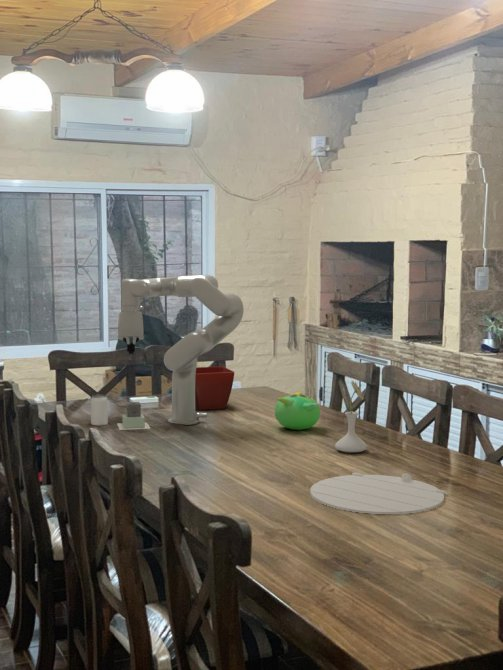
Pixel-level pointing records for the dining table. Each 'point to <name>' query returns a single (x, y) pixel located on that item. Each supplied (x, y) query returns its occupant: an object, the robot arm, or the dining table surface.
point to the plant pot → (212, 387)
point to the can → (99, 410)
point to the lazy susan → (377, 494)
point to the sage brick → (133, 421)
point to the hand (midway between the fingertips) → (130, 353)
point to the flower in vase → (352, 429)
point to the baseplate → (132, 428)
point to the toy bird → (297, 411)
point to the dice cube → (133, 409)
